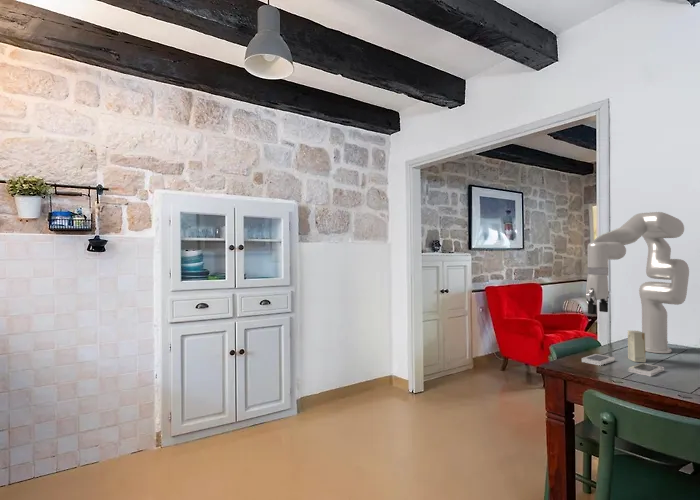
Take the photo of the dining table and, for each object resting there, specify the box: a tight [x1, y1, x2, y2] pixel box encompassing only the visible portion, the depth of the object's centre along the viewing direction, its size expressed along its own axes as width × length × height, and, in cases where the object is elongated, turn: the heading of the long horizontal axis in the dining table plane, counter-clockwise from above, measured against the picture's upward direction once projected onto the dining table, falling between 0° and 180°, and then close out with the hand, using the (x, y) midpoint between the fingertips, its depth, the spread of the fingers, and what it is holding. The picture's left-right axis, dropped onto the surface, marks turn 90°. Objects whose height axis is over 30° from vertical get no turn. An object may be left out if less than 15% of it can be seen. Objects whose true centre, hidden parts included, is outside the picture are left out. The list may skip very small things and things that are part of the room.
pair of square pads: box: [581, 353, 665, 377], centre depth 169 cm, size 12×25×2 cm, turn 35°
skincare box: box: [627, 329, 647, 363], centre depth 177 cm, size 6×4×12 cm
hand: (598, 312), depth 176 cm, fingers open, 9 cm apart
